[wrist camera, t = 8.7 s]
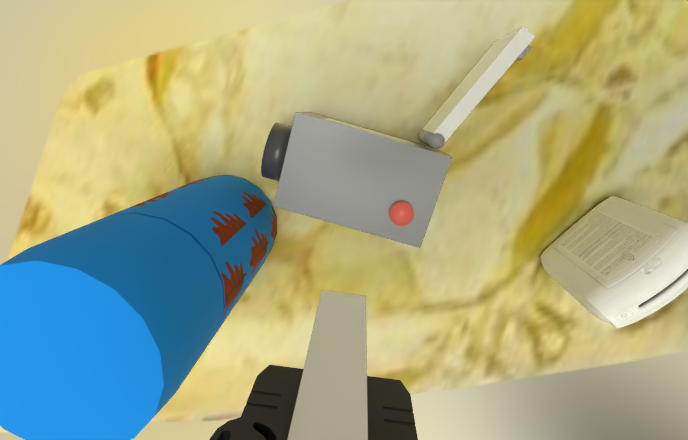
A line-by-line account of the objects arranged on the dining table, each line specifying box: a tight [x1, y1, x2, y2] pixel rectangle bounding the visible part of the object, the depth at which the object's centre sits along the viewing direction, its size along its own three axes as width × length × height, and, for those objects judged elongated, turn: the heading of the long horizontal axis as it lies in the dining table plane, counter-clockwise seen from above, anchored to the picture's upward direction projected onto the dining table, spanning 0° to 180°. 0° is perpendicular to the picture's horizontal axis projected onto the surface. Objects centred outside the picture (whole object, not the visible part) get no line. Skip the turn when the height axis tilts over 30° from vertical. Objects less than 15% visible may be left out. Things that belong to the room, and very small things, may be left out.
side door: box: [418, 26, 535, 148], centre depth 35 cm, size 11×2×8 cm, turn 142°
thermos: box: [0, 175, 277, 440], centre depth 31 cm, size 11×11×25 cm
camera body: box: [261, 112, 452, 248], centre depth 37 cm, size 15×8×9 cm, turn 74°
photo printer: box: [540, 196, 688, 328], centre depth 36 cm, size 10×4×12 cm, turn 137°
